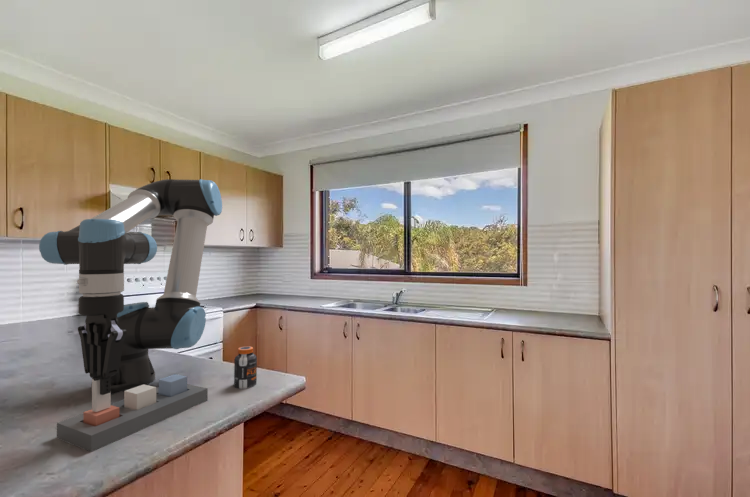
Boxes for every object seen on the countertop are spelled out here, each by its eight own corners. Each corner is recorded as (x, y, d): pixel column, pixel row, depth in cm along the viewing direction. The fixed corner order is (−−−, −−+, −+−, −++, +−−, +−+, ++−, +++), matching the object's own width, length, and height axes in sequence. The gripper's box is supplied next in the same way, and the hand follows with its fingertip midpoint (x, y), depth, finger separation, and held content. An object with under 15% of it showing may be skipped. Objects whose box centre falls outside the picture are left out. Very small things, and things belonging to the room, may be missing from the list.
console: (56, 442, 74) (56, 422, 74) (175, 396, 98) (175, 381, 98) (91, 457, 69) (91, 435, 69) (207, 404, 93) (207, 388, 93)
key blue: (158, 396, 90) (158, 379, 90) (175, 389, 94) (175, 374, 94) (170, 399, 88) (170, 382, 88) (187, 392, 92) (187, 376, 92)
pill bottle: (249, 392, 100) (249, 351, 100) (229, 391, 101) (229, 349, 101) (260, 385, 106) (260, 345, 106) (241, 383, 107) (241, 344, 107)
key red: (83, 431, 75) (83, 412, 75) (106, 422, 79) (106, 403, 79) (96, 436, 73) (96, 416, 73) (119, 426, 77) (119, 407, 77)
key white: (124, 408, 82) (124, 390, 82) (143, 401, 86) (143, 384, 86) (136, 412, 80) (136, 394, 80) (156, 404, 84) (156, 387, 84)
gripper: (63, 294, 76) (62, 410, 75) (100, 297, 70) (100, 422, 70) (103, 291, 82) (102, 397, 82) (140, 293, 77) (139, 407, 77)
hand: (101, 408), depth 76 cm, fingers closed
